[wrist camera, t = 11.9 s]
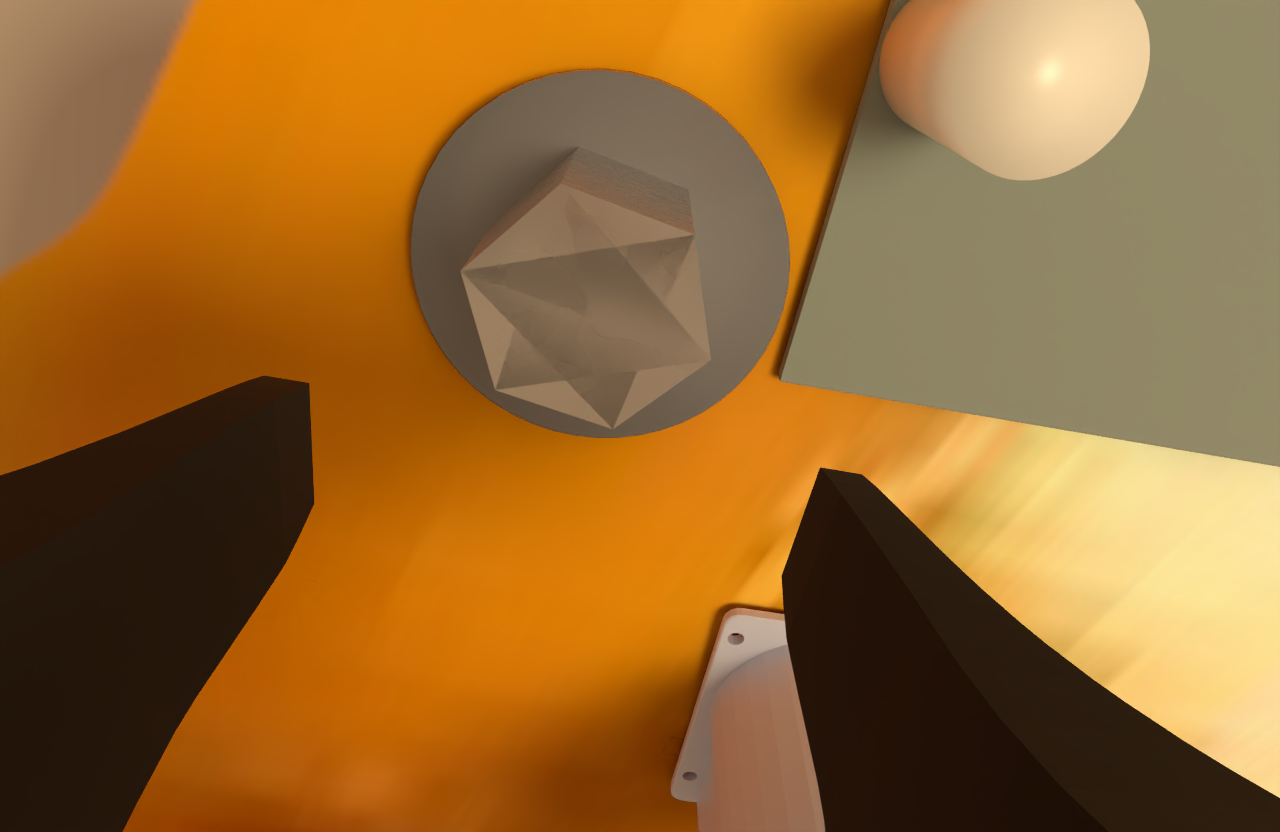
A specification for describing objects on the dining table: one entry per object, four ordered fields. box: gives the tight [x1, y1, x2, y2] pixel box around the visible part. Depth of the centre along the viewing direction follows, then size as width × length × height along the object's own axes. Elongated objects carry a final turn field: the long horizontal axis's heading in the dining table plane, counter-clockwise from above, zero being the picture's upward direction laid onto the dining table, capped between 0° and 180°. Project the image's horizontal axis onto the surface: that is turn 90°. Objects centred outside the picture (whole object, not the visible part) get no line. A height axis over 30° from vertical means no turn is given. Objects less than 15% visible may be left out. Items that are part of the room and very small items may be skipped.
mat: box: [778, 0, 1280, 467], centre depth 17 cm, size 15×16×1 cm
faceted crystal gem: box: [460, 147, 711, 429], centre depth 16 cm, size 5×4×4 cm
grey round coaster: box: [410, 69, 790, 438], centre depth 18 cm, size 9×9×1 cm
